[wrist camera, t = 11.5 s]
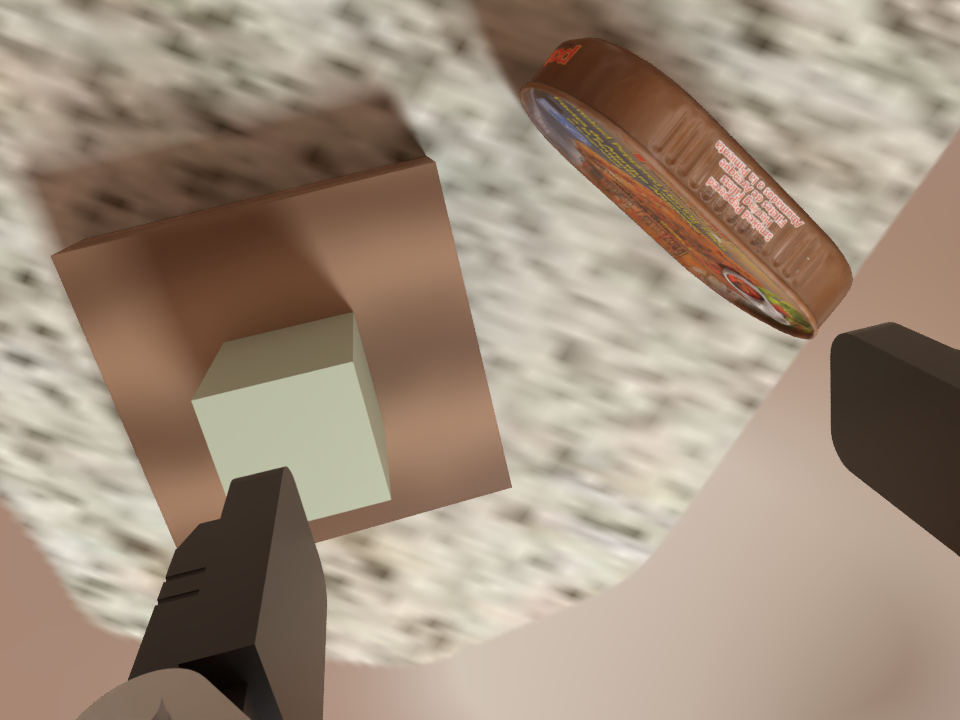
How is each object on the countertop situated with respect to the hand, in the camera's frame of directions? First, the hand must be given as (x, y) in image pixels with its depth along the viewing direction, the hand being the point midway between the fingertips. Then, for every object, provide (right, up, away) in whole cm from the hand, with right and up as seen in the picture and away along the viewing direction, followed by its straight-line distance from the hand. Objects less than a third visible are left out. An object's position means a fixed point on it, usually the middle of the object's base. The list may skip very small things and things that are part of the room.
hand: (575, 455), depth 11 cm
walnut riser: (-9, +2, +22) cm, 24 cm away
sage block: (-8, 0, +19) cm, 20 cm away
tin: (+6, +9, +22) cm, 25 cm away
